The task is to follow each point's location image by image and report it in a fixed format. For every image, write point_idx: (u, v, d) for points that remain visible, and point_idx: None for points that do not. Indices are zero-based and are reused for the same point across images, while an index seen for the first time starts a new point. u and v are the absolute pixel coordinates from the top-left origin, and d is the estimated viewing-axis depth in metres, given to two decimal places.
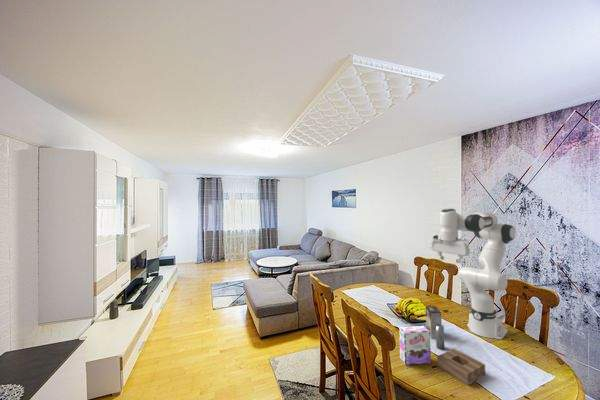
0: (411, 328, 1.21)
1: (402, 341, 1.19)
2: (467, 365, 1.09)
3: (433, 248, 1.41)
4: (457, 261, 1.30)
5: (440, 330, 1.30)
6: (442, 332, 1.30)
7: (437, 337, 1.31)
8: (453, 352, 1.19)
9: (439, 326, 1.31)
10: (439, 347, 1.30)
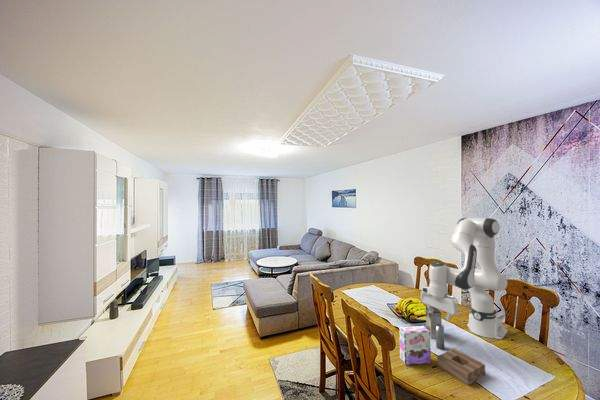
0: (411, 328, 1.21)
1: (402, 341, 1.19)
2: (467, 365, 1.09)
3: (422, 300, 1.39)
4: (446, 318, 1.27)
5: (439, 330, 1.30)
6: (442, 332, 1.30)
7: (437, 337, 1.31)
8: (453, 352, 1.19)
9: (439, 326, 1.31)
10: (439, 347, 1.30)
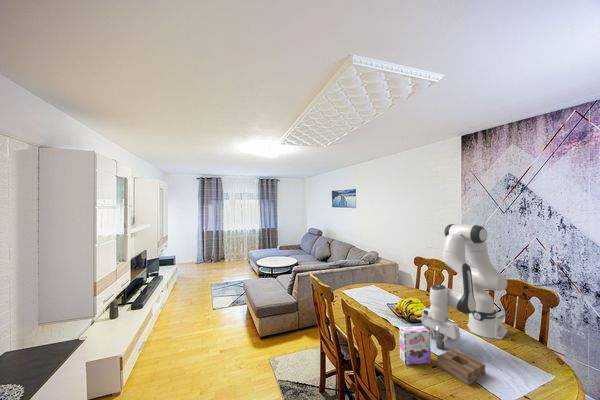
0: (411, 328, 1.21)
1: (402, 341, 1.19)
2: (467, 365, 1.09)
3: (423, 322, 1.38)
4: (443, 340, 1.29)
5: None
6: None
7: (437, 337, 1.31)
8: (453, 352, 1.19)
9: None
10: (439, 347, 1.30)
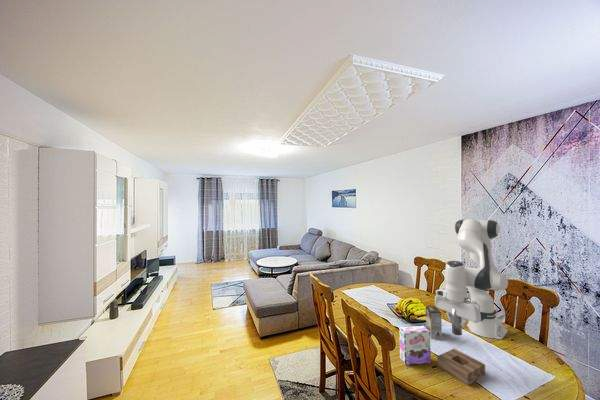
0: (411, 328, 1.21)
1: (402, 341, 1.19)
2: (467, 365, 1.09)
3: (437, 305, 1.22)
4: (461, 324, 1.12)
5: None
6: None
7: (453, 321, 1.14)
8: (453, 352, 1.19)
9: None
10: (455, 332, 1.13)
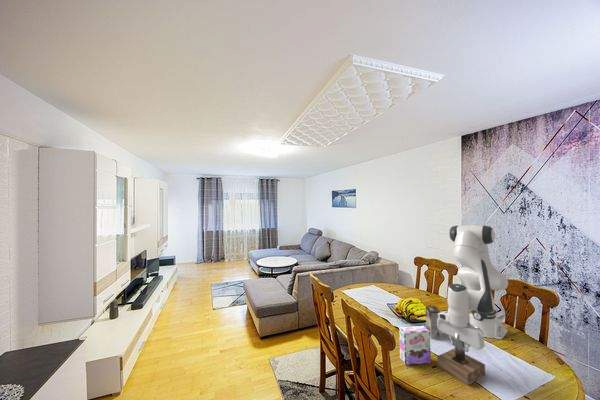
0: (411, 328, 1.21)
1: (402, 341, 1.19)
2: (467, 365, 1.09)
3: (439, 328, 1.20)
4: (464, 349, 1.10)
5: None
6: None
7: (456, 345, 1.13)
8: (453, 352, 1.19)
9: None
10: (459, 357, 1.12)
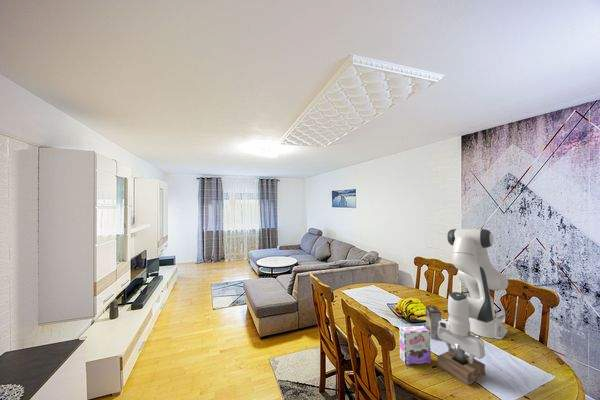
0: (411, 328, 1.21)
1: (402, 341, 1.19)
2: (467, 365, 1.09)
3: (440, 336, 1.20)
4: (469, 361, 1.09)
5: None
6: None
7: (457, 356, 1.12)
8: (453, 352, 1.19)
9: None
10: None
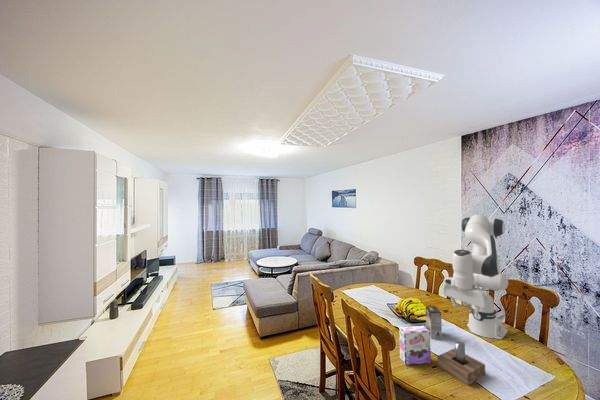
0: (411, 328, 1.21)
1: (402, 341, 1.19)
2: (467, 365, 1.09)
3: (445, 293, 1.25)
4: (474, 312, 1.13)
5: (460, 348, 1.11)
6: (463, 350, 1.11)
7: (457, 356, 1.12)
8: (453, 352, 1.19)
9: (459, 343, 1.13)
10: None
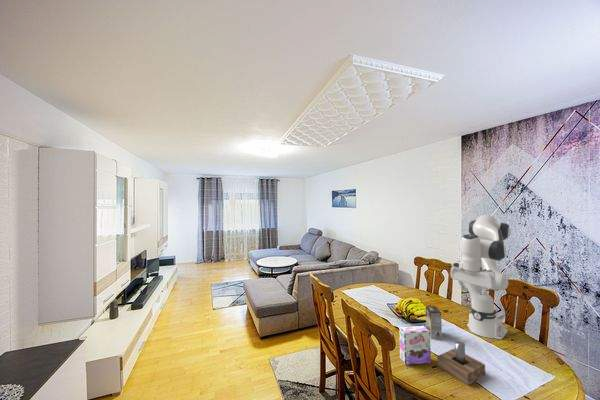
0: (411, 328, 1.21)
1: (402, 341, 1.19)
2: (467, 365, 1.09)
3: (453, 276, 1.30)
4: (481, 293, 1.18)
5: (460, 348, 1.11)
6: (463, 350, 1.11)
7: (457, 356, 1.12)
8: (453, 352, 1.19)
9: (459, 343, 1.13)
10: None
